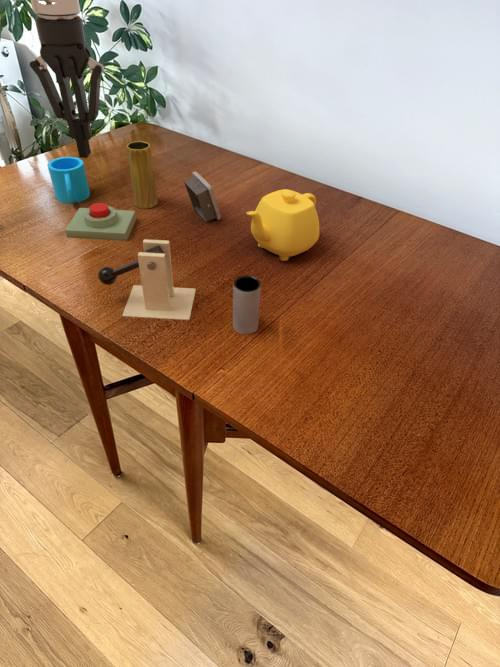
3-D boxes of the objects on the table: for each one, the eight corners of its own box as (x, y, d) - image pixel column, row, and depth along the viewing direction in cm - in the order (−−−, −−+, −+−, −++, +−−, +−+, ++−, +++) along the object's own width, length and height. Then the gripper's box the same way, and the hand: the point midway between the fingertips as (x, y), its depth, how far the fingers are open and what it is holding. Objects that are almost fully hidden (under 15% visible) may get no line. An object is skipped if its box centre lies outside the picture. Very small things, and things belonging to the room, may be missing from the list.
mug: (55, 189, 118) (47, 158, 112) (89, 186, 120) (82, 155, 114) (56, 212, 110) (47, 179, 104) (92, 208, 112) (85, 176, 106)
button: (88, 218, 101) (86, 211, 100) (93, 209, 104) (92, 202, 103) (106, 219, 101) (105, 212, 100) (111, 210, 104) (110, 203, 103)
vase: (131, 209, 112) (122, 150, 102) (135, 197, 117) (126, 139, 107) (156, 209, 113) (150, 150, 103) (159, 197, 117) (153, 140, 107)
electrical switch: (222, 220, 110) (218, 184, 103) (202, 227, 108) (197, 190, 102) (206, 203, 116) (201, 168, 109) (187, 209, 114) (181, 174, 108)
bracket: (122, 320, 83) (110, 260, 74) (134, 289, 89) (124, 231, 81) (189, 324, 83) (185, 265, 74) (196, 293, 89) (193, 235, 81)
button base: (67, 238, 102) (63, 222, 99) (81, 216, 109) (77, 200, 106) (126, 242, 102) (123, 226, 99) (136, 219, 109) (134, 203, 106)
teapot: (332, 246, 103) (342, 193, 95) (266, 279, 93) (270, 223, 85) (289, 221, 111) (294, 170, 102) (223, 249, 101) (223, 195, 92)
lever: (103, 290, 82) (92, 277, 80) (108, 280, 84) (97, 266, 83) (165, 266, 78) (154, 251, 76) (168, 256, 80) (158, 241, 78)
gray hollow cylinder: (232, 337, 81) (232, 291, 74) (233, 320, 84) (233, 274, 77) (258, 338, 81) (261, 292, 74) (257, 321, 84) (260, 275, 77)
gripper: (9, 16, 75) (46, 160, 91) (90, 21, 75) (112, 164, 91) (27, 8, 80) (59, 145, 96) (102, 13, 80) (121, 149, 96)
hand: (85, 154), depth 93 cm, fingers closed
